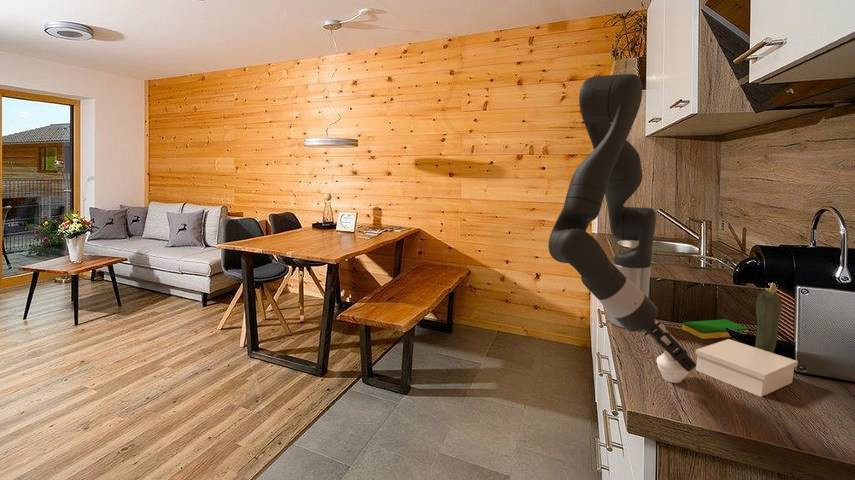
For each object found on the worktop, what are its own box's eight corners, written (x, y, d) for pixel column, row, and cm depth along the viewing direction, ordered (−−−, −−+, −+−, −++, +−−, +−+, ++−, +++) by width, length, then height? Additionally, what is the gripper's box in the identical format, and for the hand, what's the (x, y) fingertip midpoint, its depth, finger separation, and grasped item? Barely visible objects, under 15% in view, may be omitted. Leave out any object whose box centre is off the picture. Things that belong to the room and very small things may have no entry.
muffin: (668, 387, 80) (671, 354, 79) (648, 373, 86) (651, 342, 85) (696, 386, 81) (700, 353, 80) (675, 371, 87) (678, 340, 86)
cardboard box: (693, 371, 87) (695, 349, 87) (726, 359, 93) (728, 339, 92) (761, 399, 76) (765, 375, 75) (794, 384, 82) (797, 361, 81)
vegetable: (778, 365, 89) (790, 278, 86) (756, 364, 90) (767, 277, 87) (766, 357, 93) (777, 273, 90) (745, 355, 94) (755, 272, 91)
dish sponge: (681, 330, 111) (681, 321, 111) (724, 327, 113) (725, 318, 113) (702, 340, 104) (703, 331, 104) (748, 336, 106) (749, 328, 106)
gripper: (657, 301, 74) (718, 364, 75) (627, 281, 88) (679, 334, 89) (625, 328, 76) (685, 389, 76) (600, 304, 90) (651, 355, 90)
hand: (681, 359), depth 82 cm, fingers open, 7 cm apart
